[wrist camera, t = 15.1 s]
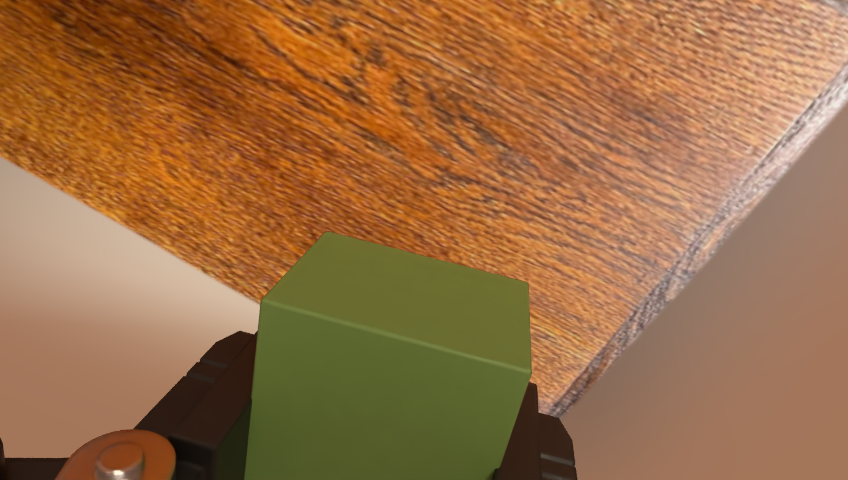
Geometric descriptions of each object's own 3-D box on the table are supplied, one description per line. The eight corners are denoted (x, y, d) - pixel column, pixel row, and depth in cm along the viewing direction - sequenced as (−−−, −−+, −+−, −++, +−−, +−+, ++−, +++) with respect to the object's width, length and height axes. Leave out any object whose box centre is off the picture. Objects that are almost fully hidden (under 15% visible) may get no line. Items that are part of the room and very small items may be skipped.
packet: (325, 229, 10) (259, 299, 7) (529, 281, 10) (533, 372, 7) (292, 458, 12) (232, 574, 10) (458, 506, 12) (442, 638, 9)
